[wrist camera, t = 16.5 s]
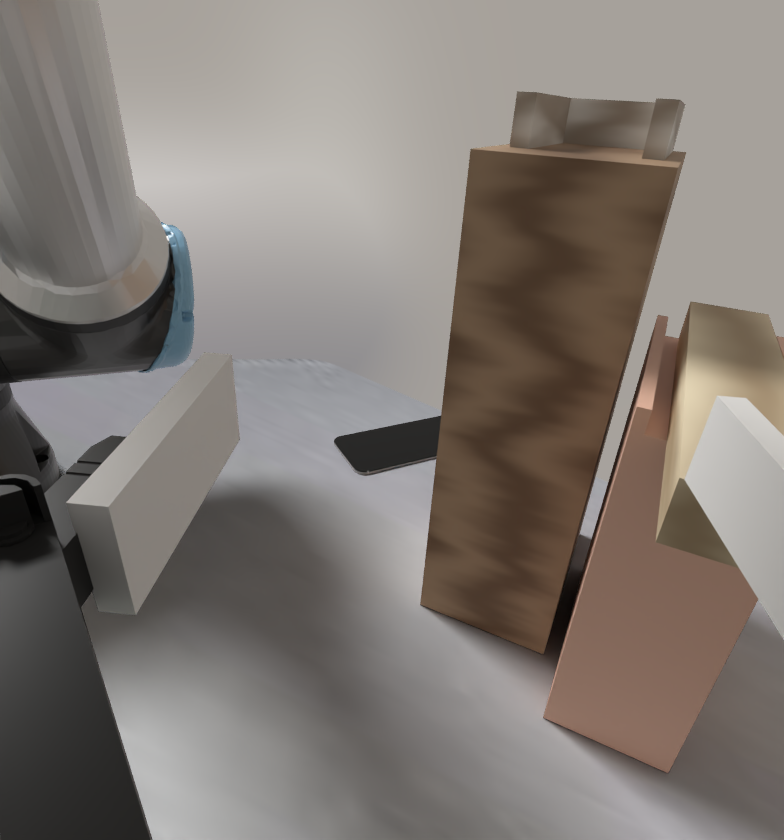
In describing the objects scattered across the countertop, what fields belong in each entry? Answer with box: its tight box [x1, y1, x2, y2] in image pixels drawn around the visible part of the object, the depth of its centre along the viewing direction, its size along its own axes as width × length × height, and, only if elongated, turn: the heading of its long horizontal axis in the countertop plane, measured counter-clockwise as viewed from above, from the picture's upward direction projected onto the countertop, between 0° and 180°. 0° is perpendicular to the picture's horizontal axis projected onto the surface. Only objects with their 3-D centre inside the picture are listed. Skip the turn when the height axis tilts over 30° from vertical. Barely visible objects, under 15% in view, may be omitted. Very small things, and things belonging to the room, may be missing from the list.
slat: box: [656, 302, 784, 568], centre depth 25 cm, size 4×20×2 cm, turn 154°
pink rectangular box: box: [543, 315, 784, 773], centre depth 33 cm, size 7×14×21 cm, turn 154°
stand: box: [420, 92, 686, 654], centre depth 37 cm, size 9×14×32 cm, turn 154°
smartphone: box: [334, 416, 441, 475], centre depth 61 cm, size 7×1×15 cm
